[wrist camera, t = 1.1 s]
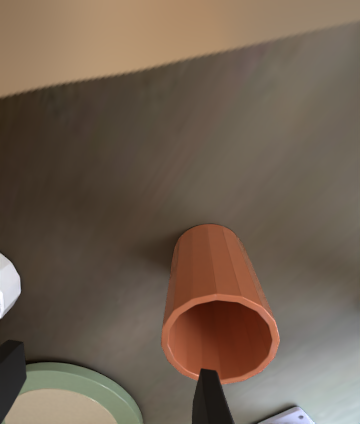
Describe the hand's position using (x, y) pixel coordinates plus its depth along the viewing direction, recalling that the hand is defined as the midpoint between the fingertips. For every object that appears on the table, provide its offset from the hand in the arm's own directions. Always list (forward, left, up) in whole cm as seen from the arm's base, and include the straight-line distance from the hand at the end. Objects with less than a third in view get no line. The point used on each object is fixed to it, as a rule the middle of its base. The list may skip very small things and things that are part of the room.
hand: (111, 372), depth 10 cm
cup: (-3, -4, -10) cm, 11 cm away
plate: (-9, +19, -10) cm, 24 cm away
